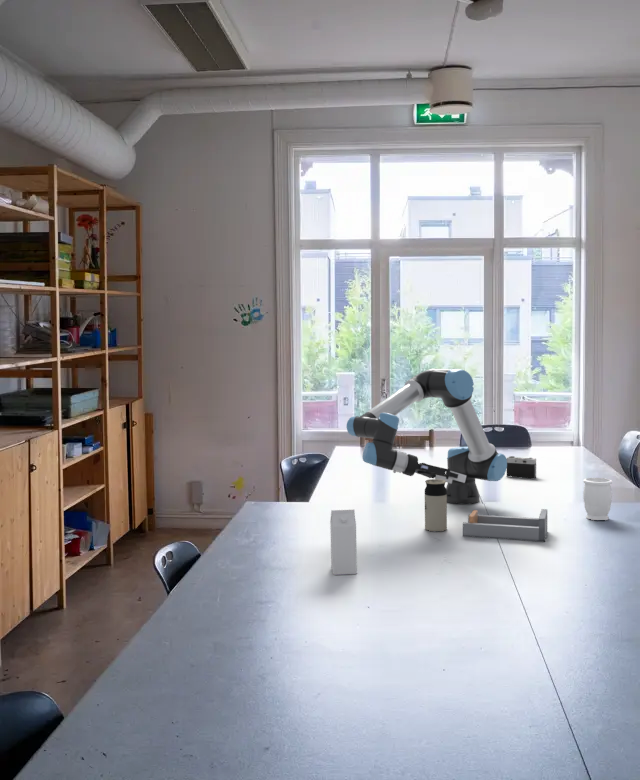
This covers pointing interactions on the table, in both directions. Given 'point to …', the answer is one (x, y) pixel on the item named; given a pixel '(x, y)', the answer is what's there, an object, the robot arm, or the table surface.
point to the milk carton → (343, 542)
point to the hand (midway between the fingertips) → (458, 479)
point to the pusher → (473, 517)
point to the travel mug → (435, 505)
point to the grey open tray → (508, 527)
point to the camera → (521, 467)
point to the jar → (597, 498)
